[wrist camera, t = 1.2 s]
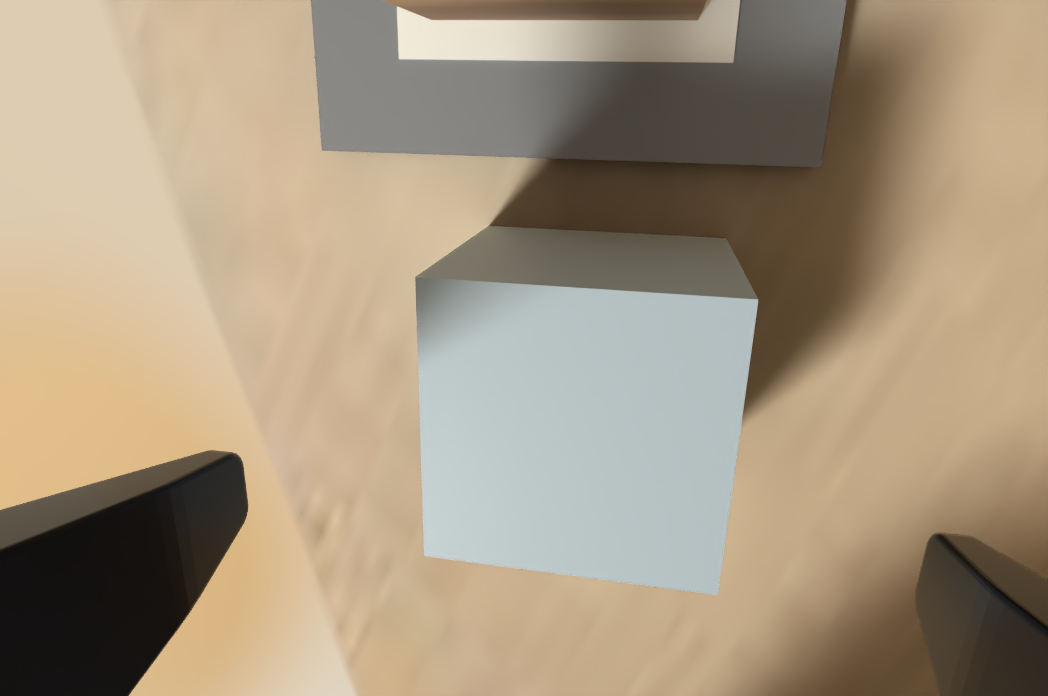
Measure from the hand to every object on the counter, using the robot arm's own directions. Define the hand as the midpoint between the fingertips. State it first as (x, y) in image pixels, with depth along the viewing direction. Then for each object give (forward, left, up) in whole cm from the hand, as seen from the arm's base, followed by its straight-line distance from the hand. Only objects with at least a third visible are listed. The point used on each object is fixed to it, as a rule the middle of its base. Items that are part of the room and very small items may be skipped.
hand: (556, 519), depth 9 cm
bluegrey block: (0, 0, -7) cm, 7 cm away
